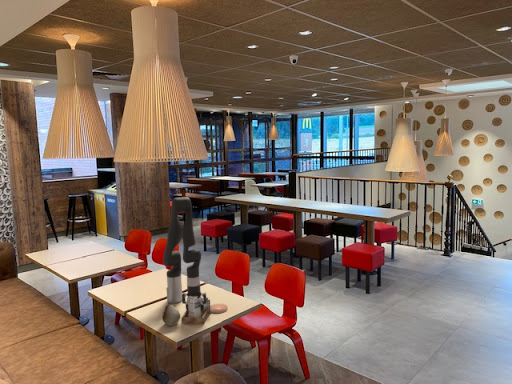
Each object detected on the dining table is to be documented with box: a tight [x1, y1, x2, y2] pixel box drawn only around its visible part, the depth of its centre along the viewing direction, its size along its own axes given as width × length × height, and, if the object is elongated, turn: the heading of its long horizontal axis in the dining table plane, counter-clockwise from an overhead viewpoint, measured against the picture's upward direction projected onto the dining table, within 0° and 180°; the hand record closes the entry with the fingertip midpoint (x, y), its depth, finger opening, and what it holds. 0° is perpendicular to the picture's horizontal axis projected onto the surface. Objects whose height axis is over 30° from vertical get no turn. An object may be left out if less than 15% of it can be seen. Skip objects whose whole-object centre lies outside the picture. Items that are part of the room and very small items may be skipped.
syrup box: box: [186, 295, 203, 317], centre depth 224 cm, size 6×6×14 cm
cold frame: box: [180, 296, 212, 325], centre depth 225 cm, size 14×14×10 cm
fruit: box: [161, 302, 181, 327], centre depth 218 cm, size 10×9×12 cm
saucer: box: [210, 303, 229, 314], centre depth 237 cm, size 12×12×1 cm
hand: (195, 310), depth 224 cm, fingers closed on syrup box, 8 cm apart
